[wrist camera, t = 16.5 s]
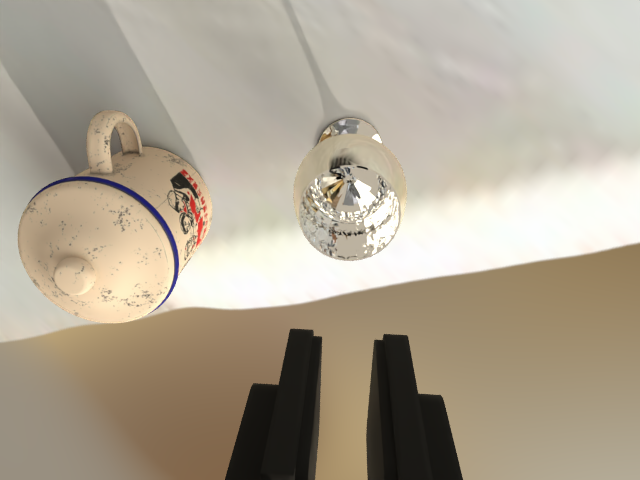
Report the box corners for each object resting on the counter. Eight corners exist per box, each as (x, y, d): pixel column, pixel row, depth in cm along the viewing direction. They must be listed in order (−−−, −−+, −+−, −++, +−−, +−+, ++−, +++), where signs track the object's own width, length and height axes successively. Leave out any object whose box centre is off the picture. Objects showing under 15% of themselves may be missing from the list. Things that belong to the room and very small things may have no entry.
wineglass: (291, 160, 33) (261, 227, 22) (341, 89, 31) (334, 124, 20) (358, 206, 34) (361, 292, 23) (410, 141, 32) (441, 202, 21)
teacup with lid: (219, 262, 36) (165, 359, 26) (103, 255, 37) (3, 347, 26) (211, 102, 32) (140, 140, 21) (78, 94, 32) (-59, 128, 21)
